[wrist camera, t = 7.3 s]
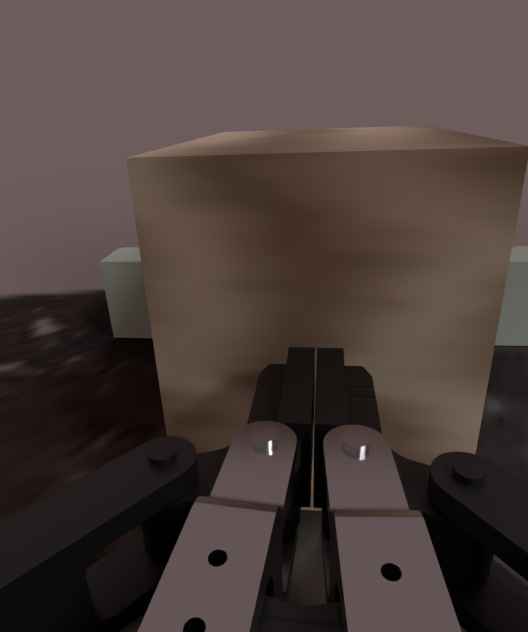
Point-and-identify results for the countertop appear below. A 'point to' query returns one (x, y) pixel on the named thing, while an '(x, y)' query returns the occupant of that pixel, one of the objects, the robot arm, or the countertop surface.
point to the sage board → (133, 318)
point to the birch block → (328, 271)
